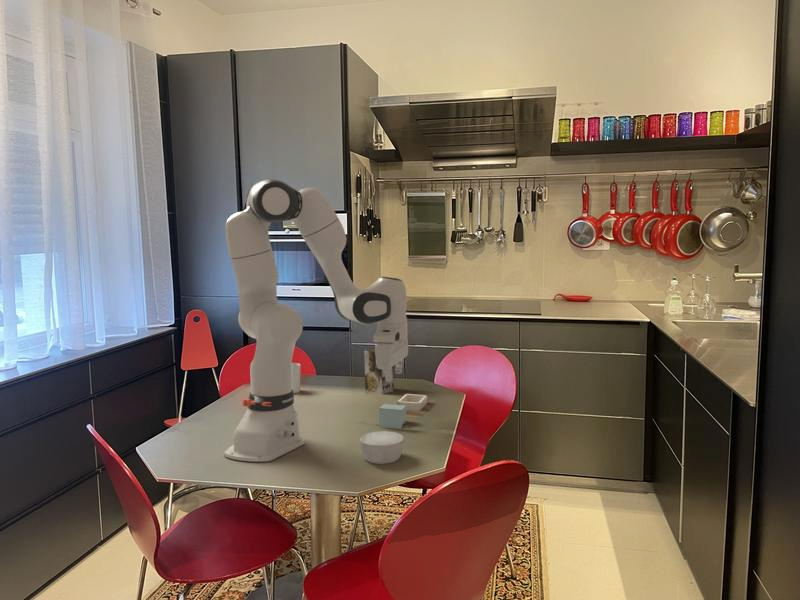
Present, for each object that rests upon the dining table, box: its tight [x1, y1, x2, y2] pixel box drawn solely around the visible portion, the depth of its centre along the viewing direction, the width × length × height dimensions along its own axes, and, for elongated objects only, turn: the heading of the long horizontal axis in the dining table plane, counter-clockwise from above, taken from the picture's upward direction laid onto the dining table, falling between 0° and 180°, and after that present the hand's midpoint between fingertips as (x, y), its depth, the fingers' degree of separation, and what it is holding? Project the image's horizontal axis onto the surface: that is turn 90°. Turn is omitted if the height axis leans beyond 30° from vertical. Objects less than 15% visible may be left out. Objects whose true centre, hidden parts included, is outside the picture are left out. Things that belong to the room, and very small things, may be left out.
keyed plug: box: [378, 403, 407, 430], centre depth 178 cm, size 4×7×6 cm, turn 73°
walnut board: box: [394, 399, 437, 419], centre depth 193 cm, size 20×12×1 cm, turn 163°
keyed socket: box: [396, 393, 429, 411], centre depth 195 cm, size 10×8×2 cm
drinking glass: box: [291, 362, 301, 394], centre depth 218 cm, size 7×7×10 cm
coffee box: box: [363, 347, 395, 395], centre depth 214 cm, size 9×6×16 cm
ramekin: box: [359, 430, 405, 465], centre depth 152 cm, size 11×11×5 cm
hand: (393, 377), depth 177 cm, fingers open, 8 cm apart
